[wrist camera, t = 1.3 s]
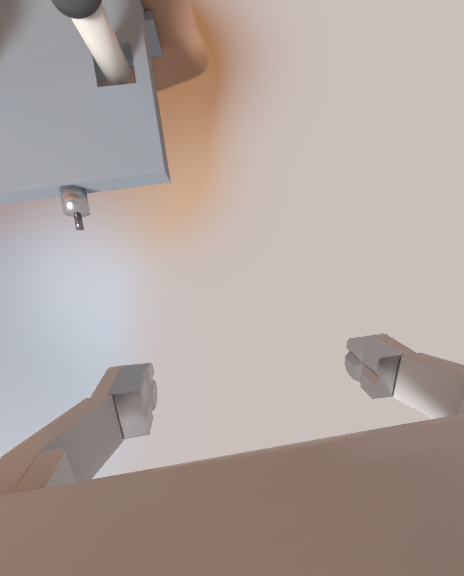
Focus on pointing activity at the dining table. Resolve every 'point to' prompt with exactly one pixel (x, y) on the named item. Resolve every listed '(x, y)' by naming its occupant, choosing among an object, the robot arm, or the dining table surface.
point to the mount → (76, 104)
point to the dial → (75, 203)
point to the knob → (97, 37)
